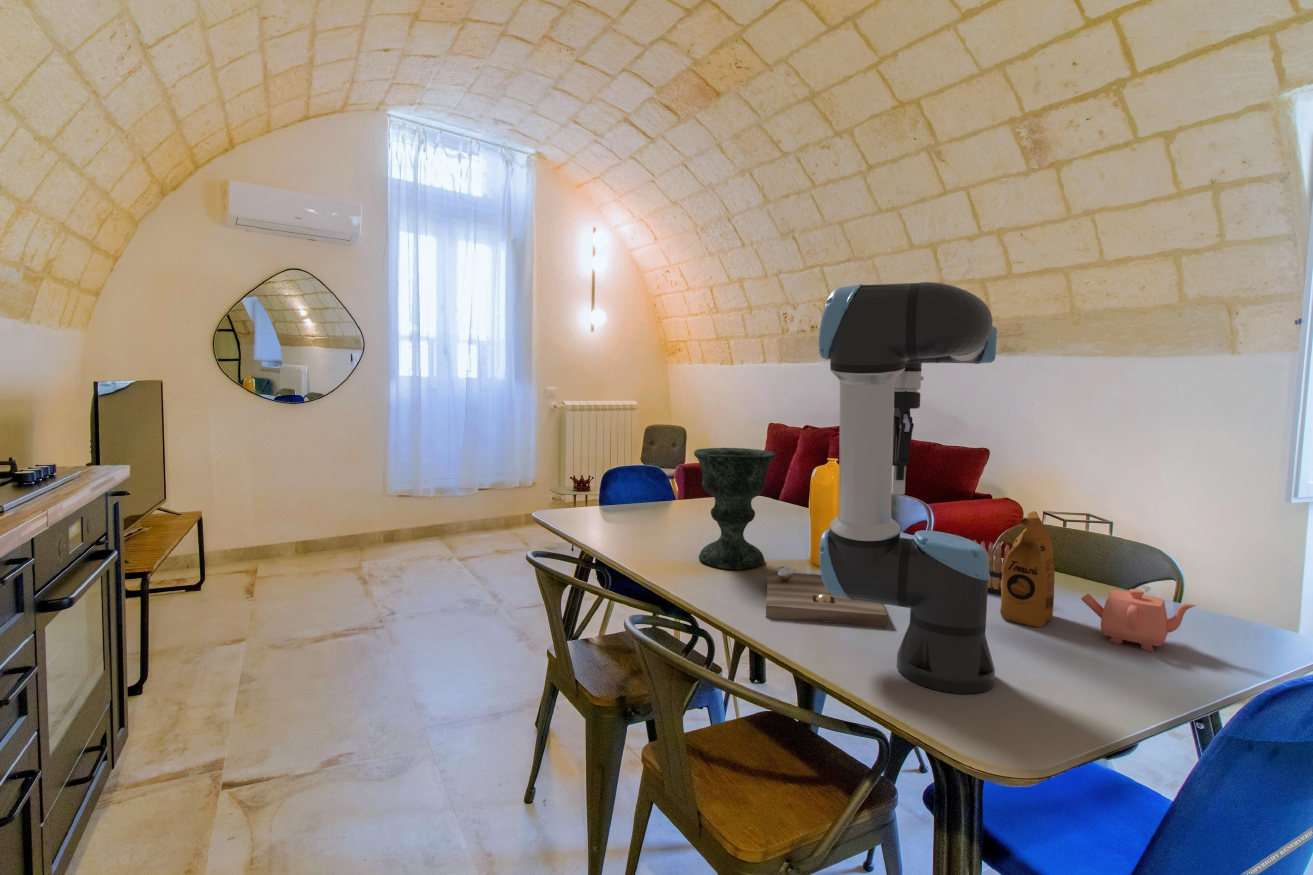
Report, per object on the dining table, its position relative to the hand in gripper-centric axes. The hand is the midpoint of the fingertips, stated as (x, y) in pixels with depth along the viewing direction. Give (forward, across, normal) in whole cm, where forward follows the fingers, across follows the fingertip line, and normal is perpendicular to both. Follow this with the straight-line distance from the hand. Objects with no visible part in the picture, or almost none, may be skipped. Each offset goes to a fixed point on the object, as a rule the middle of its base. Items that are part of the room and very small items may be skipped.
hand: (897, 493), depth 154 cm
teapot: (+24, -21, -40) cm, 52 cm away
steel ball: (+19, -3, +25) cm, 32 cm away
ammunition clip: (+24, +8, -22) cm, 34 cm away
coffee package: (+24, -11, -25) cm, 36 cm away
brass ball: (+22, -15, +17) cm, 32 cm away
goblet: (+24, +22, +38) cm, 50 cm away
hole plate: (+24, -9, +17) cm, 31 cm away
